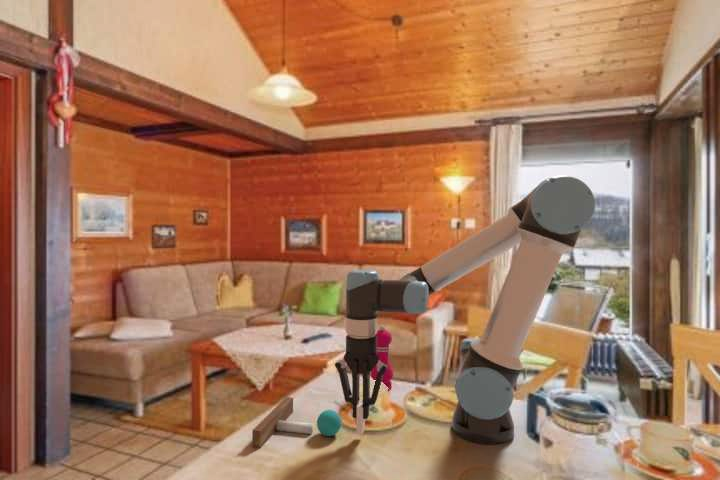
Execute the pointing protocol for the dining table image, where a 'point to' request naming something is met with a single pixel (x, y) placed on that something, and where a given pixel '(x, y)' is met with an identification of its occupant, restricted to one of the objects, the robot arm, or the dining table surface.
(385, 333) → the pepper mill
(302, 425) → the pin
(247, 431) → the dining table surface
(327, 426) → the ball
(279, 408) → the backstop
